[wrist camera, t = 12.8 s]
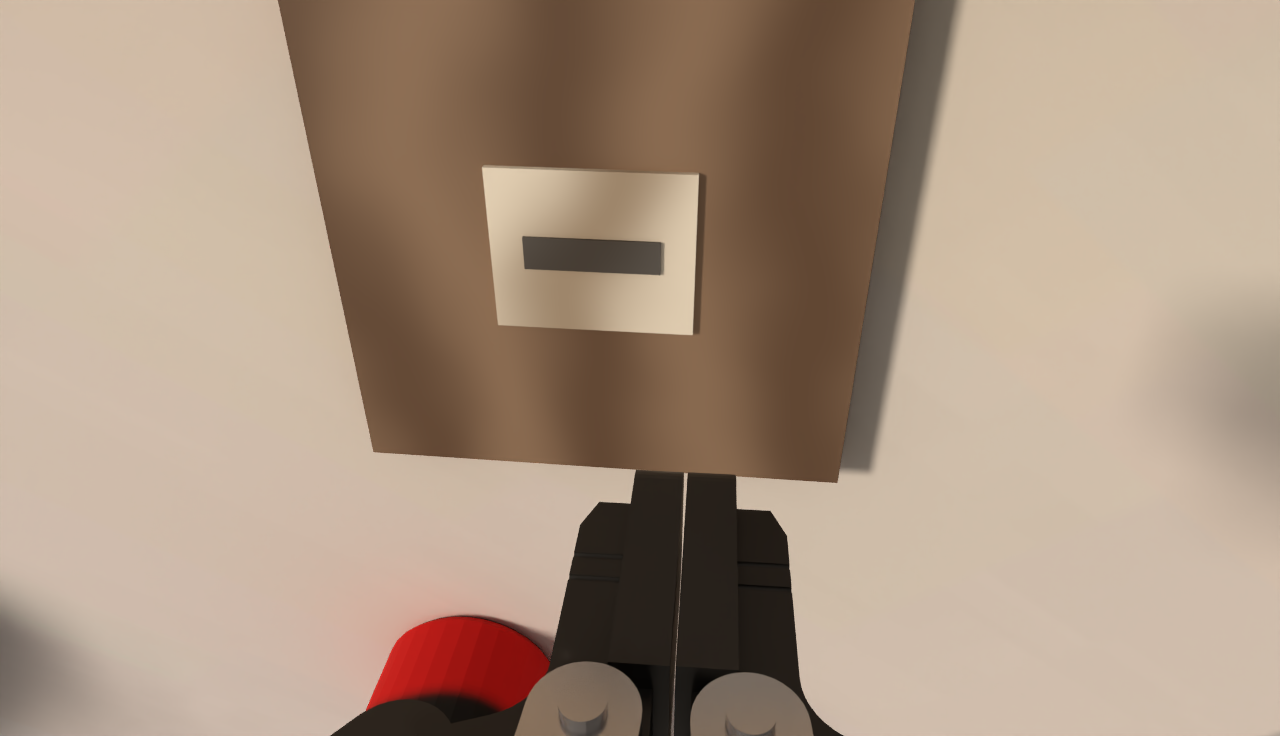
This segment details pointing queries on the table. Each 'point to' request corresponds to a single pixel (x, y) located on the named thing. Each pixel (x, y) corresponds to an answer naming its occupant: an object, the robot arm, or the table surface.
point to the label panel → (604, 221)
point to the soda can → (461, 667)
